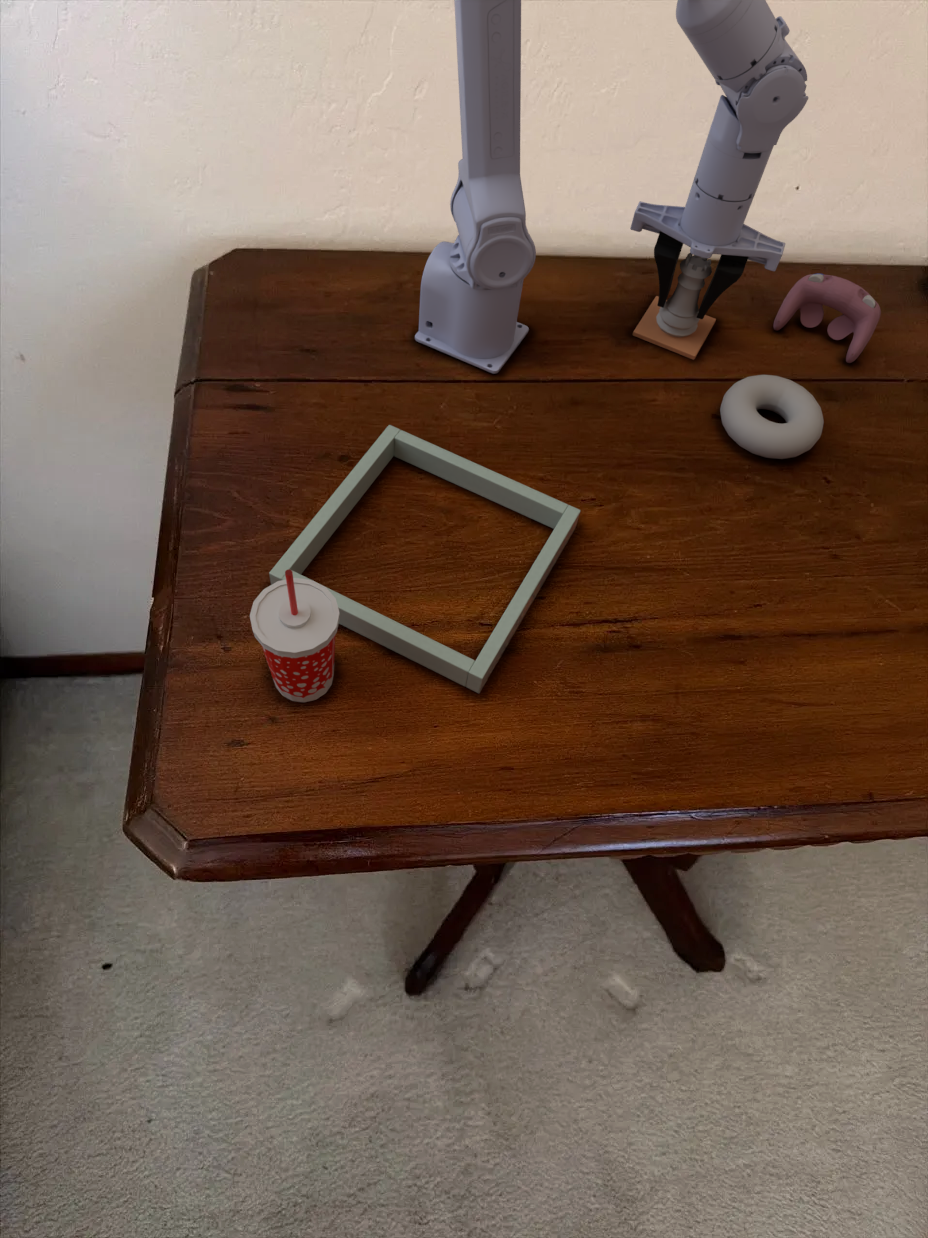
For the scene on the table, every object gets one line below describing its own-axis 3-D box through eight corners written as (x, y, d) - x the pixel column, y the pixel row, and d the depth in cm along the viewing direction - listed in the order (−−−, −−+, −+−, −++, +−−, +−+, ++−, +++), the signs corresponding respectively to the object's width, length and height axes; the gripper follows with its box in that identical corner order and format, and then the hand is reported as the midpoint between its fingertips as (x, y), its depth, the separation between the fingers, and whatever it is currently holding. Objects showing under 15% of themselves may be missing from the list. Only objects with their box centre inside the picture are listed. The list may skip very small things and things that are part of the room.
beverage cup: (282, 632, 70) (263, 523, 58) (355, 655, 70) (350, 549, 58) (250, 697, 67) (223, 596, 55) (326, 721, 67) (315, 624, 55)
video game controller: (856, 361, 96) (893, 298, 92) (853, 367, 93) (891, 301, 89) (773, 323, 98) (806, 260, 95) (767, 328, 95) (801, 262, 91)
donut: (712, 455, 85) (816, 475, 84) (723, 429, 82) (831, 450, 81) (717, 385, 90) (814, 403, 90) (728, 358, 87) (828, 377, 87)
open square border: (271, 590, 72) (268, 572, 70) (388, 443, 82) (389, 423, 80) (479, 694, 69) (482, 679, 67) (575, 527, 79) (581, 509, 76)
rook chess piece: (646, 318, 94) (667, 252, 87) (679, 306, 95) (702, 240, 89) (672, 344, 92) (695, 278, 85) (704, 332, 94) (730, 266, 87)
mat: (632, 335, 93) (633, 331, 93) (655, 299, 97) (656, 295, 96) (693, 360, 92) (695, 356, 91) (714, 322, 95) (716, 318, 95)
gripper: (638, 184, 79) (605, 309, 91) (796, 229, 77) (742, 351, 89) (656, 145, 83) (622, 270, 94) (807, 187, 81) (754, 309, 93)
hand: (681, 306), depth 92 cm, fingers open, 4 cm apart
